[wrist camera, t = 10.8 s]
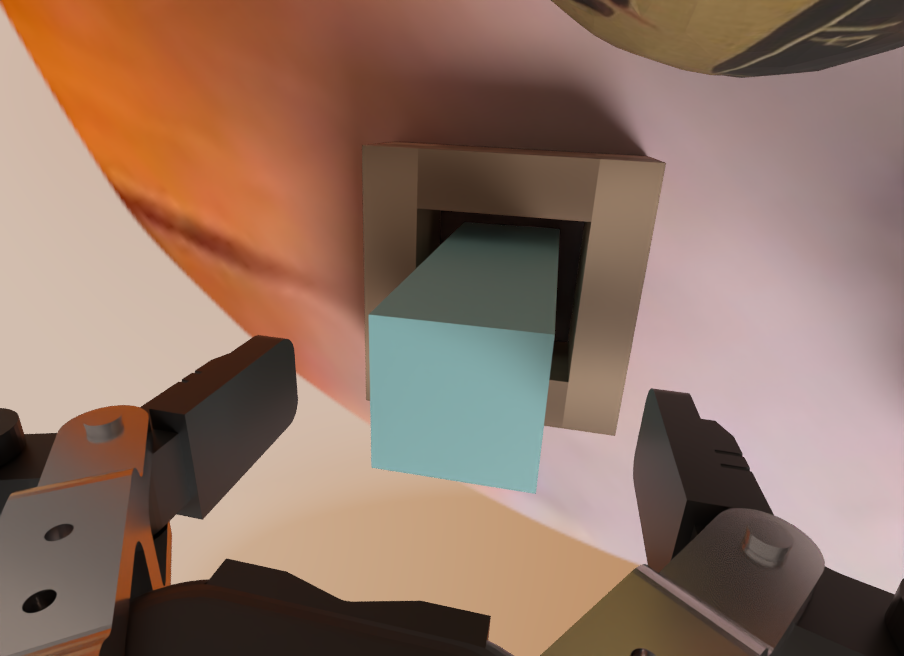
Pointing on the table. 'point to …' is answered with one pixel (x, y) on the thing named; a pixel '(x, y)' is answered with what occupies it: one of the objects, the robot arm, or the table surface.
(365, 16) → the table surface
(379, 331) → the peg
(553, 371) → the socket block
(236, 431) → the robot arm
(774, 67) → the ceramic jug
